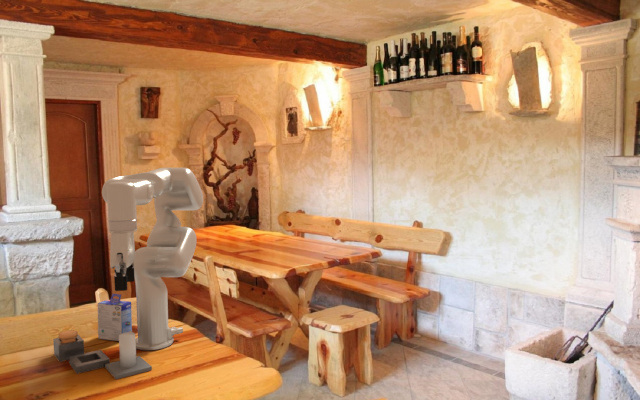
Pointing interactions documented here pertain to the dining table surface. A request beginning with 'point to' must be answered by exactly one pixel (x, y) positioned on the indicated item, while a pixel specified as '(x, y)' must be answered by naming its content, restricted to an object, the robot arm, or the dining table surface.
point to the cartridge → (127, 350)
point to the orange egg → (68, 336)
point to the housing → (68, 348)
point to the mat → (124, 372)
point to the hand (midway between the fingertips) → (125, 285)
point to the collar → (81, 367)
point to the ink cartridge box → (114, 318)
